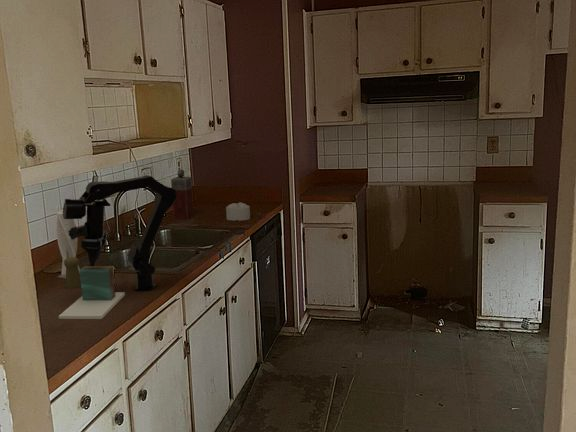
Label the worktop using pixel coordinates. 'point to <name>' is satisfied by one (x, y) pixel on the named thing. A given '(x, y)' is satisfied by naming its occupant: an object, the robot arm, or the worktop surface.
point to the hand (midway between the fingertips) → (94, 262)
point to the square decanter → (182, 196)
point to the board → (91, 308)
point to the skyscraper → (65, 239)
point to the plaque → (97, 283)
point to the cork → (72, 273)
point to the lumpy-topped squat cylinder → (238, 211)
